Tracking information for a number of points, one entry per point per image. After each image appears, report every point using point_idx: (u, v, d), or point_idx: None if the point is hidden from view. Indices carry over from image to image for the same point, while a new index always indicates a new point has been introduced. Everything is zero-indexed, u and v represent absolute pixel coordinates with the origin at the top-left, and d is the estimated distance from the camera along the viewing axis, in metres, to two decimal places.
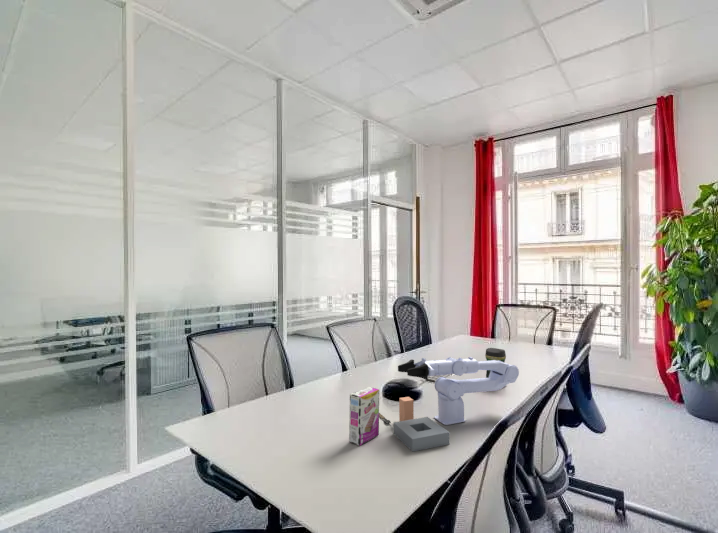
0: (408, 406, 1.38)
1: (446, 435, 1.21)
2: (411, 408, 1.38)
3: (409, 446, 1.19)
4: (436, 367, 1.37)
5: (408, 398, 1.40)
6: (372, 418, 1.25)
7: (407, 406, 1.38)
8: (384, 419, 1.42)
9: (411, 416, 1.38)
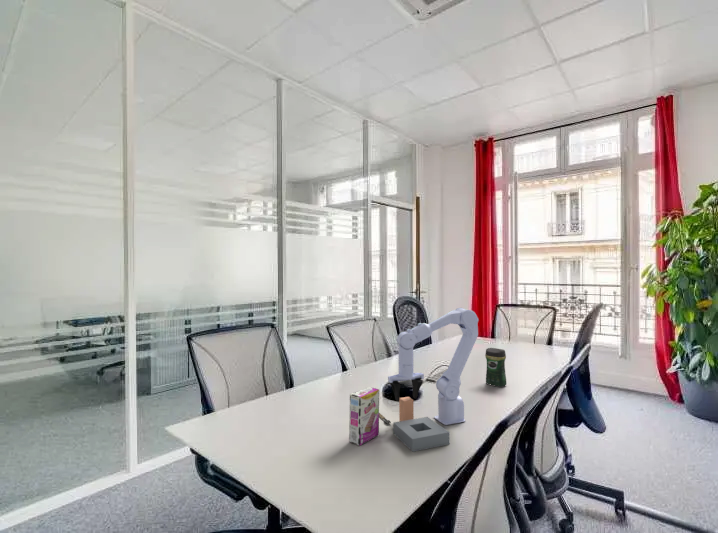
0: (408, 406, 1.38)
1: (446, 435, 1.21)
2: (411, 408, 1.38)
3: (409, 446, 1.19)
4: None
5: (408, 398, 1.40)
6: (372, 418, 1.25)
7: (407, 406, 1.38)
8: (384, 419, 1.42)
9: (411, 416, 1.38)
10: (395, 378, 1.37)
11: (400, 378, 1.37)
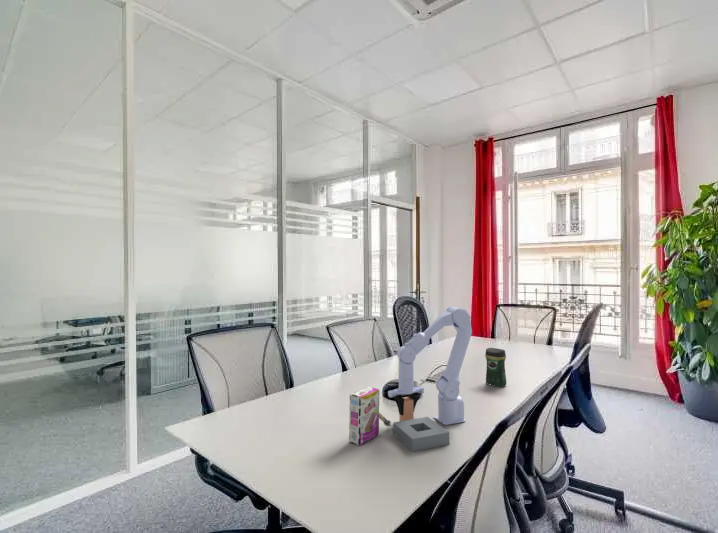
0: (408, 406, 1.38)
1: (446, 435, 1.21)
2: (411, 408, 1.38)
3: (409, 446, 1.19)
4: None
5: (408, 398, 1.40)
6: (372, 418, 1.25)
7: (407, 406, 1.38)
8: (384, 419, 1.42)
9: (411, 416, 1.38)
10: (395, 393, 1.37)
11: (400, 393, 1.37)
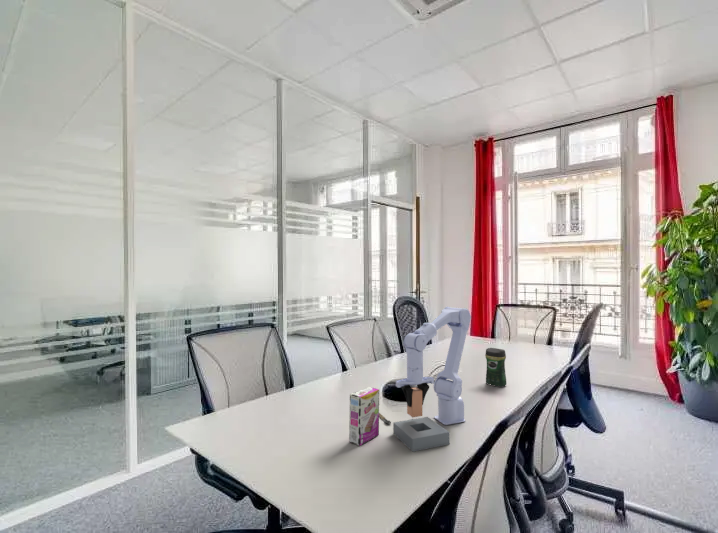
0: (417, 397, 1.29)
1: (446, 435, 1.21)
2: (420, 399, 1.29)
3: (409, 446, 1.19)
4: (407, 369, 1.31)
5: (416, 388, 1.31)
6: (372, 418, 1.25)
7: (416, 397, 1.29)
8: (384, 420, 1.42)
9: (420, 408, 1.29)
10: (403, 382, 1.28)
11: (409, 383, 1.28)
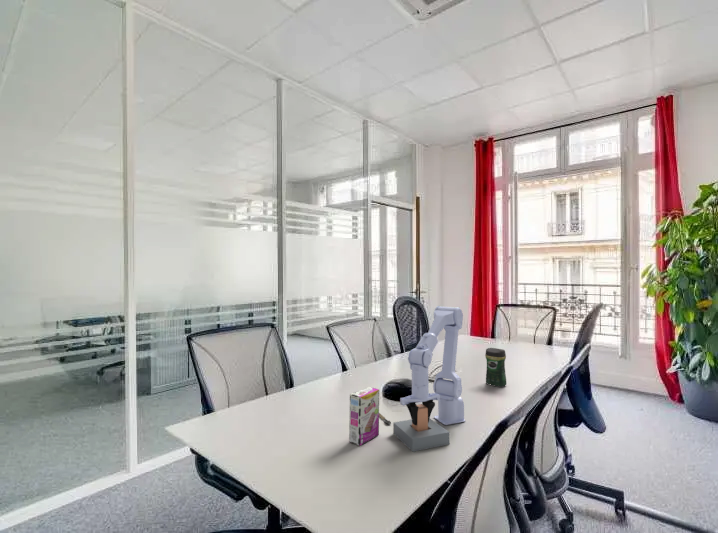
0: (422, 415, 1.24)
1: (446, 435, 1.21)
2: (425, 417, 1.25)
3: (409, 446, 1.19)
4: (412, 386, 1.26)
5: (422, 406, 1.27)
6: (372, 418, 1.25)
7: (421, 414, 1.24)
8: (384, 420, 1.41)
9: (425, 426, 1.25)
10: (408, 400, 1.23)
11: (414, 400, 1.23)
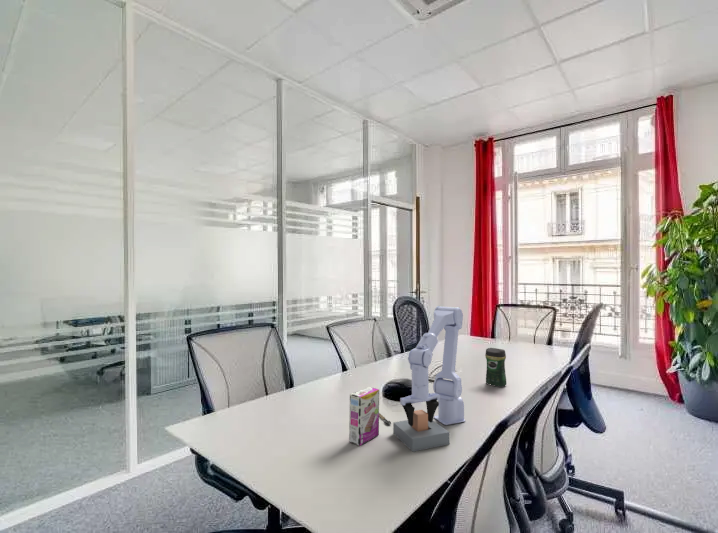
0: (422, 420, 1.24)
1: (446, 435, 1.21)
2: (425, 423, 1.25)
3: (409, 446, 1.19)
4: (412, 386, 1.26)
5: (422, 411, 1.27)
6: (372, 418, 1.25)
7: (421, 420, 1.24)
8: (385, 420, 1.41)
9: None
10: (408, 400, 1.23)
11: (414, 400, 1.23)
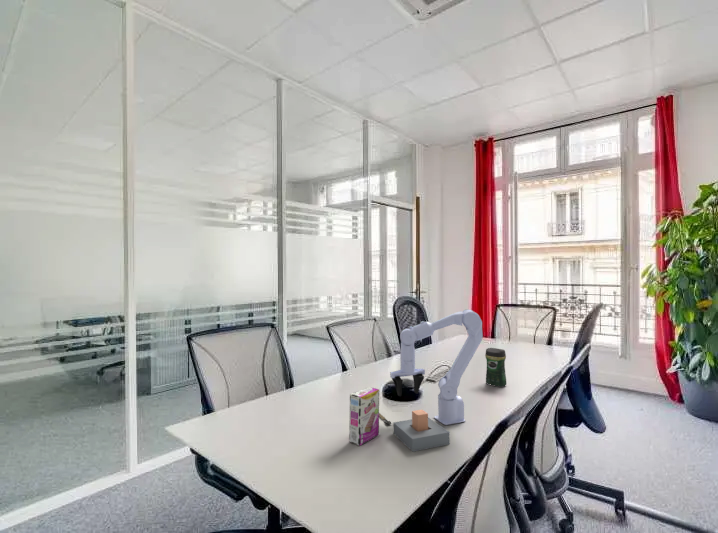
0: (422, 421, 1.24)
1: (446, 435, 1.21)
2: (425, 423, 1.25)
3: (409, 446, 1.19)
4: None
5: (422, 411, 1.27)
6: (372, 418, 1.25)
7: (421, 420, 1.24)
8: (385, 420, 1.41)
9: None
10: (397, 374, 1.41)
11: (402, 374, 1.41)
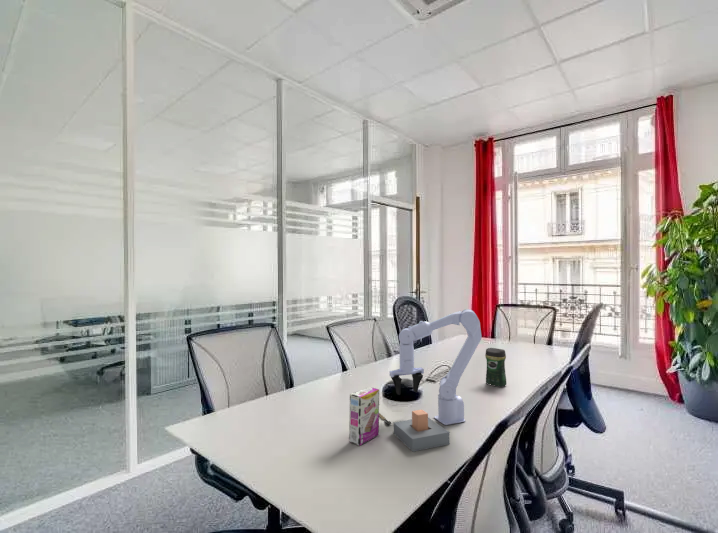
0: (422, 420, 1.24)
1: (446, 435, 1.21)
2: (425, 423, 1.25)
3: (409, 446, 1.19)
4: None
5: (422, 411, 1.27)
6: (372, 418, 1.25)
7: (421, 420, 1.24)
8: (385, 420, 1.41)
9: None
10: (396, 372, 1.43)
11: (401, 372, 1.43)
